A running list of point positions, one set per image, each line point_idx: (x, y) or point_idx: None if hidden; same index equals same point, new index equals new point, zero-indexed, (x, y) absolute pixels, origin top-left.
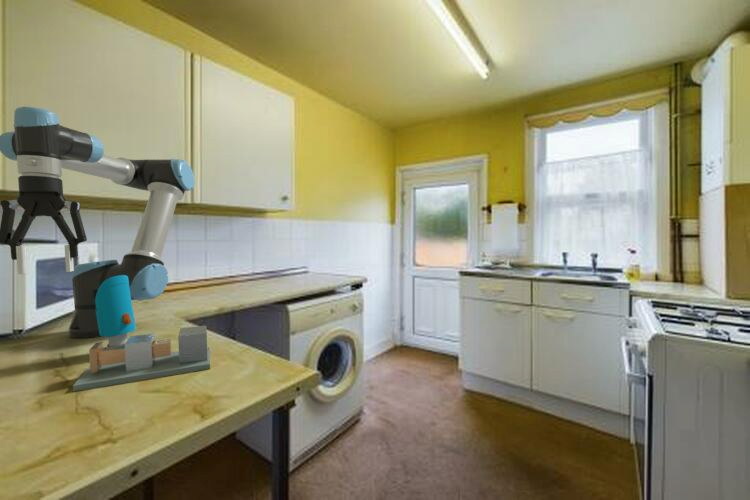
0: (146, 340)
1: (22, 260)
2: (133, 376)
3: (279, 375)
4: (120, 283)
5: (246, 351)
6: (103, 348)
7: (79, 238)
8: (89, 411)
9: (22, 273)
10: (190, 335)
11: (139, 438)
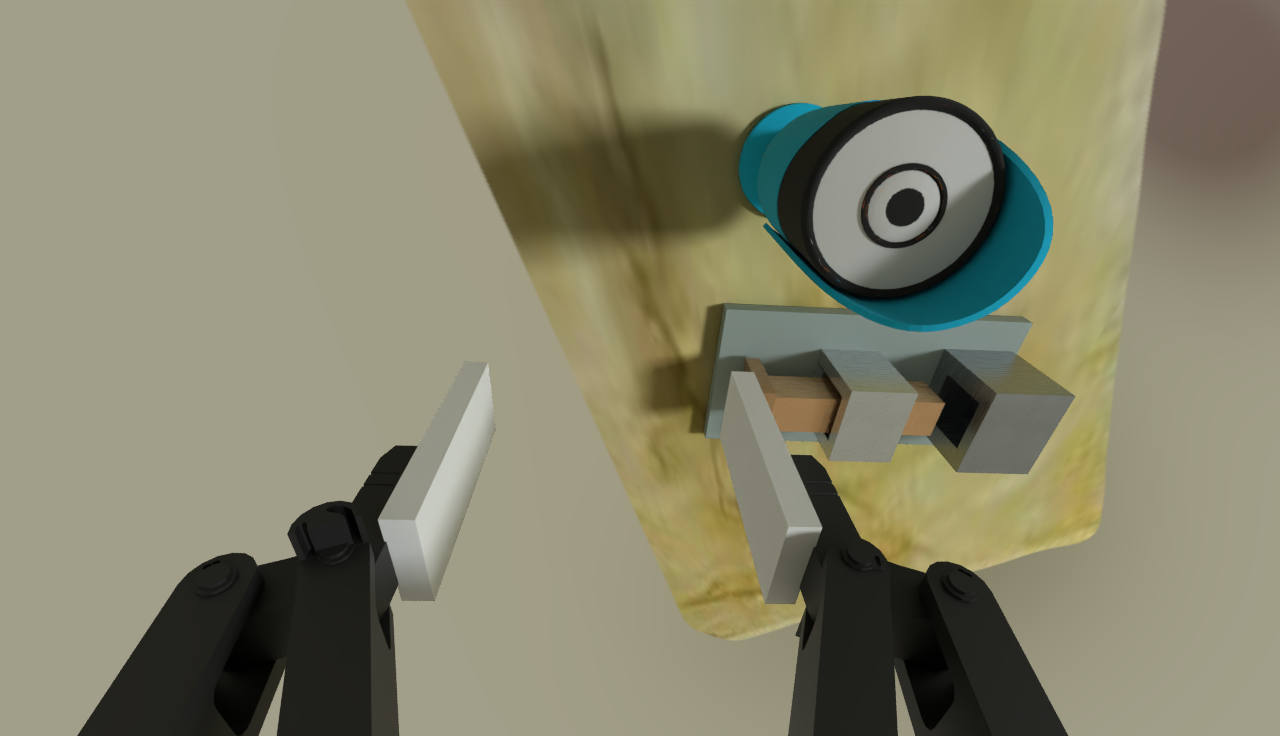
0: (881, 452)
1: (469, 480)
2: (814, 440)
3: (1043, 521)
4: (962, 292)
5: (1095, 365)
6: (775, 407)
7: (913, 668)
8: (740, 516)
9: (493, 428)
10: (986, 472)
11: (799, 598)
